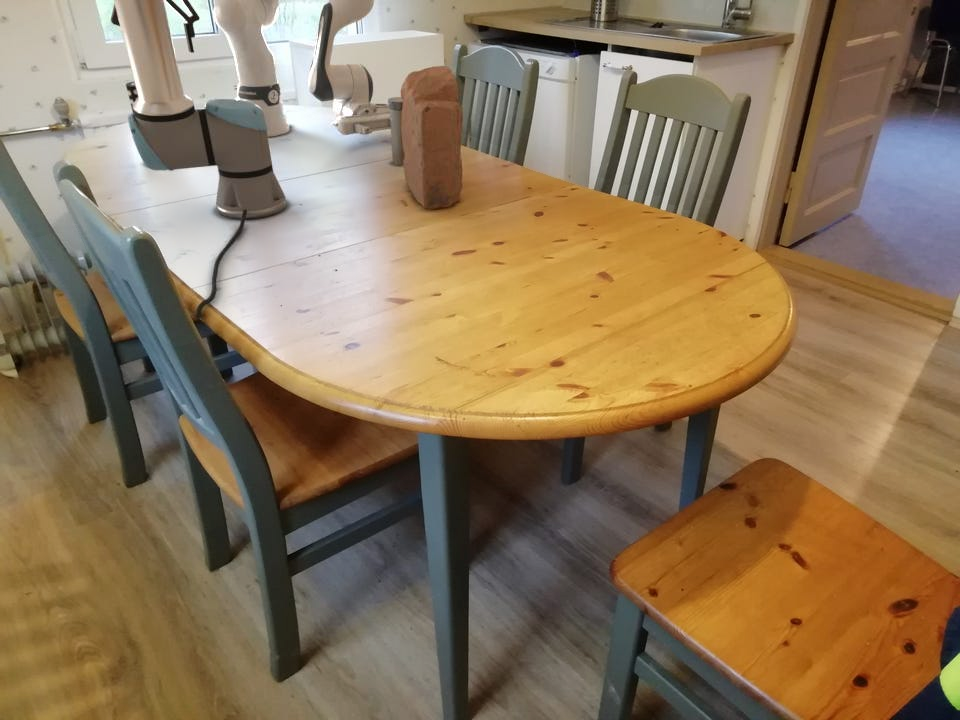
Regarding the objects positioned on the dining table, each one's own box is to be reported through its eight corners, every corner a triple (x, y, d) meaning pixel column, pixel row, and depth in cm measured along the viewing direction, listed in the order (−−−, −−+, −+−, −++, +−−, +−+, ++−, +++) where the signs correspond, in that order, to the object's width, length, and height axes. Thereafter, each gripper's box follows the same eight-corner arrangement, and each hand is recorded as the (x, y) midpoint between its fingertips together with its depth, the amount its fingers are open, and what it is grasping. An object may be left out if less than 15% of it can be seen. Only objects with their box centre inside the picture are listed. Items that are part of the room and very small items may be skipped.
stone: (472, 206, 159) (470, 76, 145) (424, 211, 156) (418, 79, 142) (446, 181, 177) (443, 63, 162) (403, 185, 174) (396, 65, 159)
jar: (409, 166, 186) (406, 104, 177) (390, 165, 187) (386, 102, 178) (414, 160, 190) (412, 99, 181) (396, 159, 191) (392, 98, 182)
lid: (407, 110, 177) (406, 102, 176) (385, 109, 178) (384, 101, 177) (413, 105, 182) (413, 97, 181) (392, 104, 183) (392, 96, 182)
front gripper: (193, -45, 171) (210, 48, 182) (82, -44, 160) (107, 55, 171) (200, -44, 166) (217, 52, 177) (85, -43, 155) (111, 59, 166)
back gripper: (328, 110, 198) (346, 121, 188) (393, 103, 207) (414, 112, 197) (330, 133, 201) (348, 144, 191) (394, 124, 210) (414, 135, 200)
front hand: (163, 54), depth 174 cm, fingers open, 13 cm apart
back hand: (382, 128), depth 194 cm, fingers open, 8 cm apart
